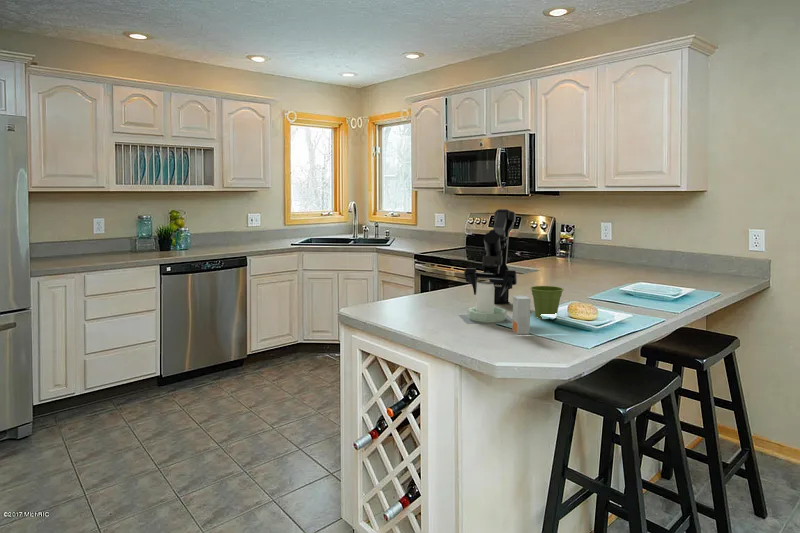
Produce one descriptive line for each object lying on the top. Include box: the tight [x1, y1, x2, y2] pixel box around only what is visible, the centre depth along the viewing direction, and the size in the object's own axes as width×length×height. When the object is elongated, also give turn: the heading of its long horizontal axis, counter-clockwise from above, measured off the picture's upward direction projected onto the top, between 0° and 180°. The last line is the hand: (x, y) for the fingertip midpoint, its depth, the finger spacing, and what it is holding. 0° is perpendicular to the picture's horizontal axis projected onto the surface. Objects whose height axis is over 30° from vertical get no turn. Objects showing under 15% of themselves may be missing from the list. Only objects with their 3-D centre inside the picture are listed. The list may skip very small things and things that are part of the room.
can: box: [475, 280, 495, 313], centre depth 200 cm, size 6×6×12 cm
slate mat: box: [458, 314, 513, 325], centre depth 199 cm, size 18×14×1 cm
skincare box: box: [511, 294, 532, 336], centre depth 181 cm, size 6×4×12 cm
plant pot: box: [529, 285, 565, 320], centre depth 201 cm, size 12×12×11 cm
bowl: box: [467, 306, 507, 324], centre depth 199 cm, size 13×13×3 cm
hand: (487, 295), depth 198 cm, fingers open, 9 cm apart
